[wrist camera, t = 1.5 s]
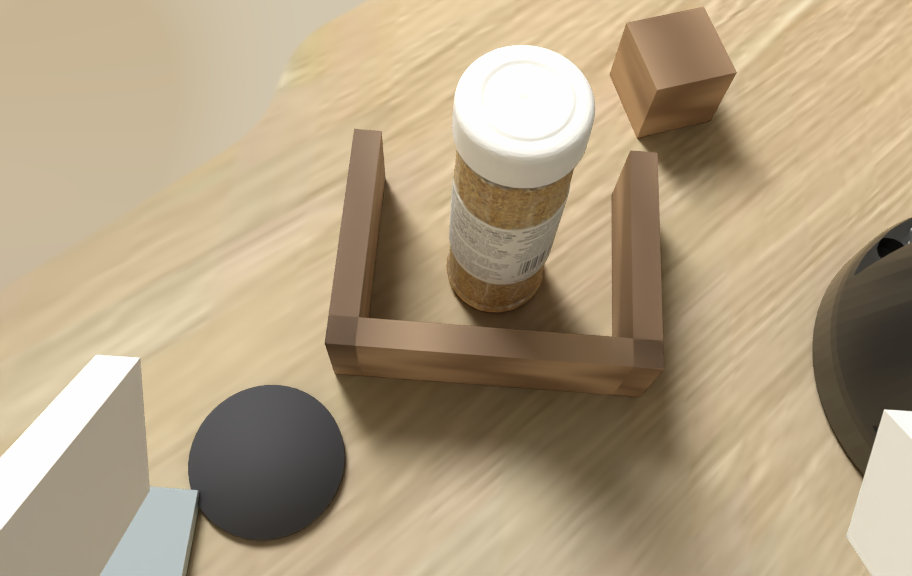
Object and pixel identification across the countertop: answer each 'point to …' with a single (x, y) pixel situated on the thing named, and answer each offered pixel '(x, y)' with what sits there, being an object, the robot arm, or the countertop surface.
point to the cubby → (498, 349)
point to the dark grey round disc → (266, 462)
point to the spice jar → (513, 170)
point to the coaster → (157, 536)
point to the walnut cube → (671, 71)
